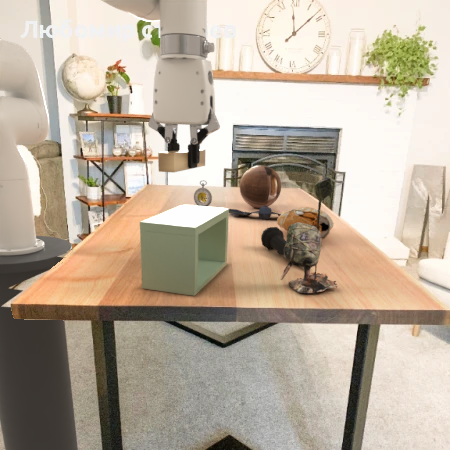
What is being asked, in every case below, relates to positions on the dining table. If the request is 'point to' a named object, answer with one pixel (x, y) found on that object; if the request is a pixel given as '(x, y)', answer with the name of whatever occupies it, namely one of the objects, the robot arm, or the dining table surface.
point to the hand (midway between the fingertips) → (183, 166)
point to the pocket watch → (202, 196)
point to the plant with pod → (308, 248)
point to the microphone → (274, 240)
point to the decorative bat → (263, 212)
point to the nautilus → (306, 219)
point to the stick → (177, 160)
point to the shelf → (183, 248)
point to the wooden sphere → (260, 186)
